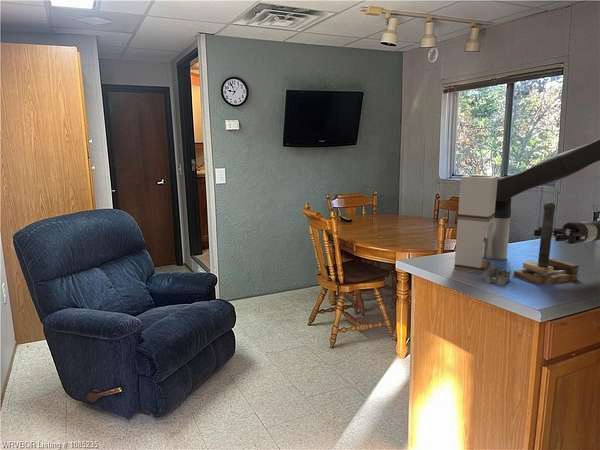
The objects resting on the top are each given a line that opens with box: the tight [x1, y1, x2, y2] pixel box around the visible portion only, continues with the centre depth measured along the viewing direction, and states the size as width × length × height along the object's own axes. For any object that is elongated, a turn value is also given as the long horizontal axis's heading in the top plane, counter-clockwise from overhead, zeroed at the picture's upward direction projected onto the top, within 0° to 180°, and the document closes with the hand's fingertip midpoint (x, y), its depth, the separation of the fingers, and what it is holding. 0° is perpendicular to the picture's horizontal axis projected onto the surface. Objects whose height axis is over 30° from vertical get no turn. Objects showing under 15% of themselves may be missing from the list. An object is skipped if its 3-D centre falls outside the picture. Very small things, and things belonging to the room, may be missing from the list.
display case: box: [453, 174, 499, 275], centre depth 168 cm, size 11×11×35 cm
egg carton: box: [483, 265, 512, 285], centre depth 157 cm, size 11×8×4 cm
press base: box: [513, 258, 579, 286], centre depth 160 cm, size 18×11×5 cm, turn 111°
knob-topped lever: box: [522, 201, 556, 274], centre depth 156 cm, size 5×8×24 cm, turn 21°
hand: (545, 235), depth 154 cm, fingers open, 8 cm apart
